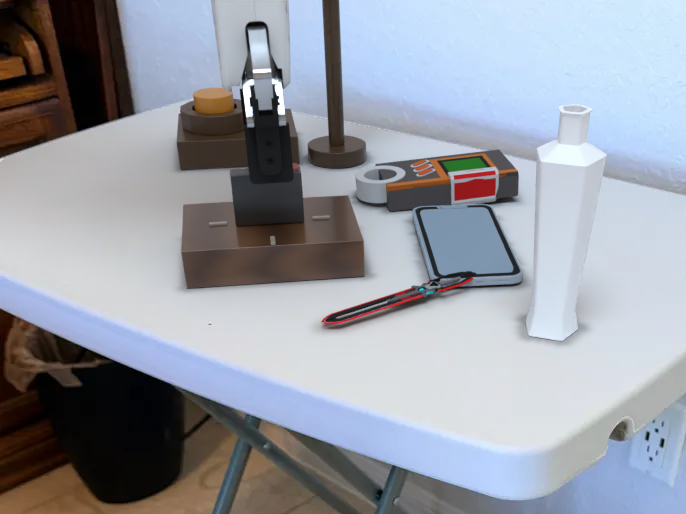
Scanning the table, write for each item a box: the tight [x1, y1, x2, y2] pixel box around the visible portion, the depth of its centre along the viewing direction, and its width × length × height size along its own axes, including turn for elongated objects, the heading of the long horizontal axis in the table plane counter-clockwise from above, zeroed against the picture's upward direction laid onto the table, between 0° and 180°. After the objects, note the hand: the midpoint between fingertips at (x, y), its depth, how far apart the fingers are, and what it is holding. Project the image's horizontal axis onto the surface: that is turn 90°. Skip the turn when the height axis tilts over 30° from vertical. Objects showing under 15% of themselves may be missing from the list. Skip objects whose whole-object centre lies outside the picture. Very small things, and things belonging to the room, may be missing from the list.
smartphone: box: [412, 203, 524, 288], centre depth 78 cm, size 7×1×15 cm
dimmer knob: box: [229, 163, 304, 226], centre depth 74 cm, size 6×2×4 cm, turn 99°
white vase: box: [525, 103, 608, 342], centre depth 62 cm, size 5×4×15 cm
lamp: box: [307, 0, 367, 169], centre depth 88 cm, size 8×8×26 cm
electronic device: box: [355, 149, 520, 212], centre depth 87 cm, size 7×3×15 cm
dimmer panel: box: [180, 194, 366, 289], centre depth 76 cm, size 14×10×3 cm
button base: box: [176, 98, 301, 171], centre depth 96 cm, size 12×10×4 cm
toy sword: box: [320, 271, 476, 325], centre depth 70 cm, size 2×14×1 cm, turn 124°
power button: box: [192, 87, 235, 114], centre depth 94 cm, size 4×4×2 cm
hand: (268, 160), depth 72 cm, fingers open, 9 cm apart
